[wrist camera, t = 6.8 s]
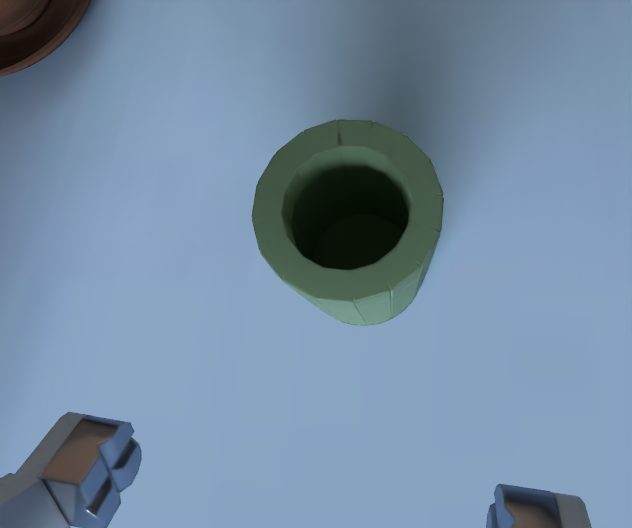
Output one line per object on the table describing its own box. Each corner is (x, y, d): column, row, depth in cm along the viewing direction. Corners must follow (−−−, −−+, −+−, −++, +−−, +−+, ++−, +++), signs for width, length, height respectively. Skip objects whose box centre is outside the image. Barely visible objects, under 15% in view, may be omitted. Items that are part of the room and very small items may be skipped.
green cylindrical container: (428, 214, 21) (449, 122, 13) (417, 332, 20) (435, 312, 12) (313, 206, 22) (266, 115, 14) (298, 318, 21) (239, 290, 13)
